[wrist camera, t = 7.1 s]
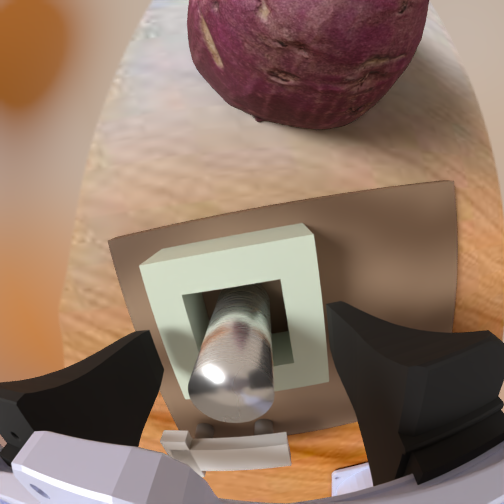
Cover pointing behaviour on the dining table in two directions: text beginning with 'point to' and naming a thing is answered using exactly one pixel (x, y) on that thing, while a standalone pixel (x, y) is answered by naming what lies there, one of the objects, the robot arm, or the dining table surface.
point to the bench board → (332, 290)
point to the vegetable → (304, 55)
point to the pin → (236, 358)
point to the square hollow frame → (237, 274)
